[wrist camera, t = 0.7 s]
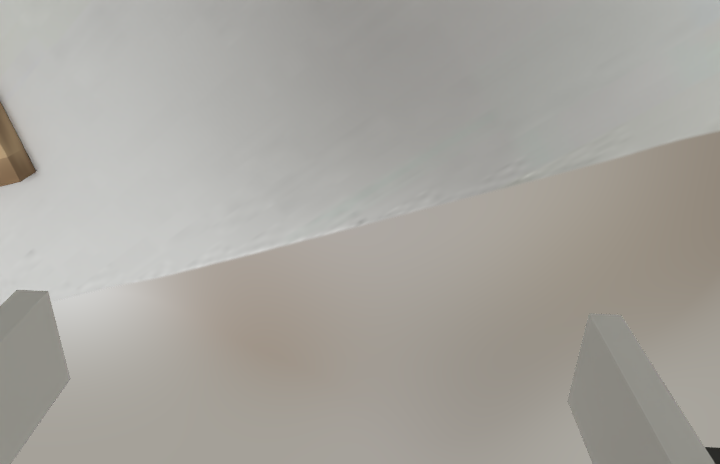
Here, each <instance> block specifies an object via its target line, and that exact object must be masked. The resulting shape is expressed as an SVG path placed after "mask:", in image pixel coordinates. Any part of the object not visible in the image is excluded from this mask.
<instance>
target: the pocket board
mask: <svg viewBox="0 0 720 464" xmlns="http://www.w3.org/2000/svg"><path fill="white" fill-rule="evenodd" d="M35 172H36V171H35V169H34V167H33V165H32V163H31V161H30V159H29V157H28V155H27V153H26V151H25V149H24V147H23V145H22V143H21V141H20V139H19V137H18V136H17V134H16V132H15V130H14V128H13V126H12V124H11V122H10V120H9V118H8V116H7V114H6V112H5V110H4V108H3V106H2V104H1V102H0V186H4V185H8V184H13V183H17V182H21V181H22V180H24V179H25V178H27V177H28V176H30V175H32V174H33V173H35Z"/></svg>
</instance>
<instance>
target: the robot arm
mask: <svg viewBox="0 0 720 464" xmlns="http://www.w3.org/2000/svg"><path fill="white" fill-rule="evenodd" d="M69 380H70V376H69V372H68V368H67V364H66V360H65V356H64V353H63V348H62V345H61V340H60V336H59V333H58V329H57V325H56V321H55V317H54V313H53V309H52V305H51V301H50V297H49V293H48V291H30V290H16V291H15V292H14V293H13V294H12V295H11V296H10V297H9V298H8V299H7V300H6V301H5V302H4V303H3V304H2V305H1V306H0V464H11V463H12V461H13V460H14V458H15V457H16V456H17V454H18V453H19V451H20V450H21V449H22V447H23V446H24V444H25V443H26V442H27V440H28V439H29V437H30V436H31V434H32V433H33V432H34V430H35V429H36V427H37V426H38V424H39V423H40V422H41V420H42V419H43V417H44V416H45V414H46V413H47V411H48V410H49V408H50V407H51V406H52V404H53V403H54V402H55V400H56V399H57V397H58V396H59V394H60V393H61V392H62V390H63V389H64V387H65V386H66V384H67V383H68V381H69ZM568 403H569V406H570V408H571V411H572V413H573V416H574V418H575V421H576V423H577V425H578V428H579V431H580V433H581V436H582V438H583V441H584V443H585V446H586V448H587V451H588V453H589V456H590V458H591V461H592V463H593V464H720V448H710V447H704V445H703V444H702V442H701V440H700V439H699V437H698V436H697V434H696V433H695V431H694V429H693V428H692V426H691V425H690V423H689V421H688V420H687V418H686V417H685V415H684V414H683V412H682V410H681V409H680V407H679V406H678V404H677V402H676V401H675V399H674V398H673V396H672V394H671V393H670V391H669V390H668V388H667V387H666V385H665V383H664V382H663V380H662V379H661V377H660V376H659V374H658V373H657V371H656V369H655V368H654V366H653V364H652V363H651V361H650V360H649V358H648V357H647V355H646V353H645V352H644V350H643V349H642V347H641V346H640V344H639V342H638V341H637V339H636V338H635V336H634V334H633V333H632V331H631V330H630V328H629V327H628V325H627V323H626V322H625V320H624V319H623V317H622V315H611V314H589V316H588V320H587V324H586V328H585V332H584V336H583V340H582V344H581V349H580V352H579V356H578V361H577V365H576V369H575V373H574V377H573V381H572V385H571V389H570V393H569V397H568Z"/></svg>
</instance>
